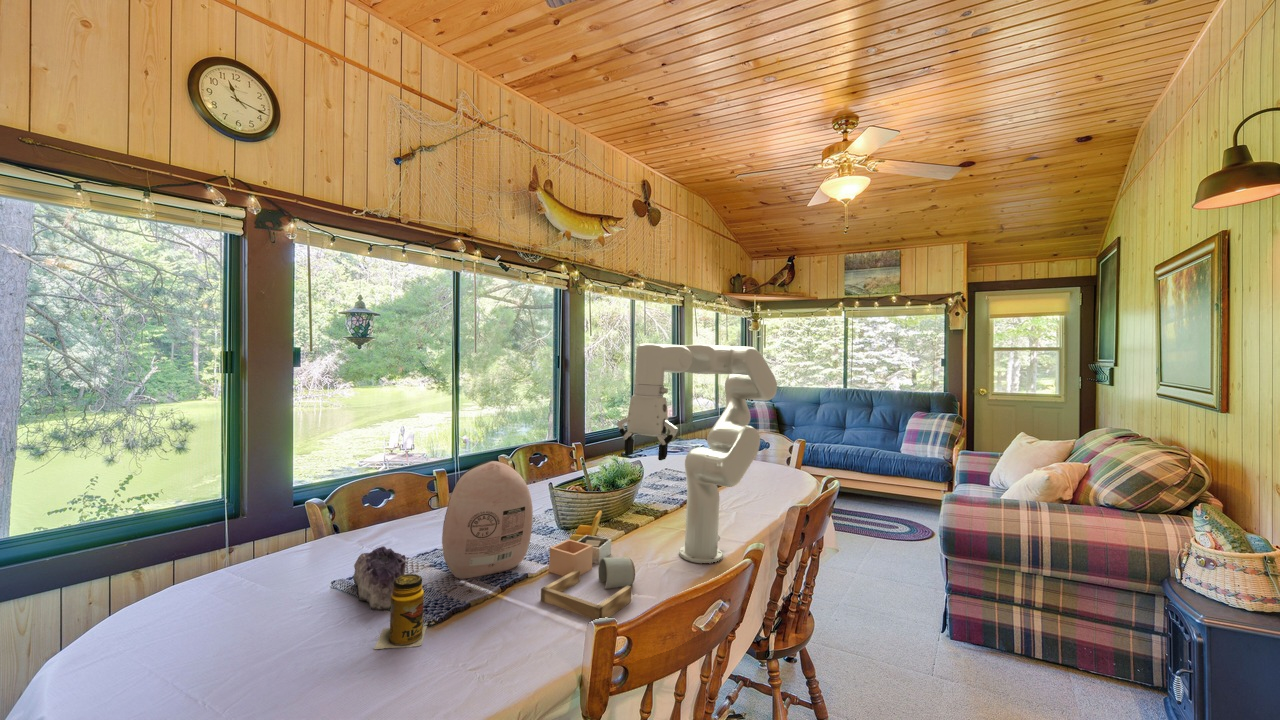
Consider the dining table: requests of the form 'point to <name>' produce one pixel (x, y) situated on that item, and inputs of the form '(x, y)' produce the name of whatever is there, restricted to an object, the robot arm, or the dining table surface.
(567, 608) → the frame
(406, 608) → the condiment
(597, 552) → the grey tin
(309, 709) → the dining table surface
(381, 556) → the geode
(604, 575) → the ceramic mug
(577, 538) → the yellow toy chair
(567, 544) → the terracotta planter
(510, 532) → the packaged food
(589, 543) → the walnut cube
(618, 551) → the dining table surface
